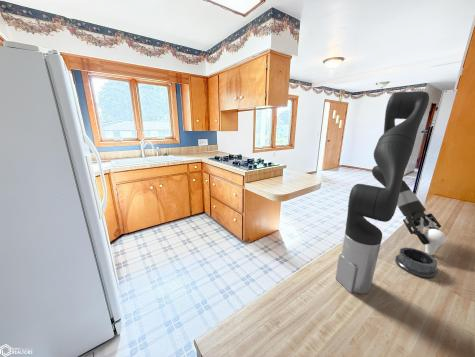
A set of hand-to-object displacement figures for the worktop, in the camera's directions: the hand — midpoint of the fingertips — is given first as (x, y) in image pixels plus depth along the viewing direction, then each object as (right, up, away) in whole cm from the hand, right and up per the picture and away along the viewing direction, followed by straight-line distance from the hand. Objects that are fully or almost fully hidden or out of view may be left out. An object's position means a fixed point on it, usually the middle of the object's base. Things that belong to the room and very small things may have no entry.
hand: (434, 242), depth 72 cm
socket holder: (-12, -8, -4) cm, 15 cm away
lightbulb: (0, -6, +2) cm, 6 cm away
